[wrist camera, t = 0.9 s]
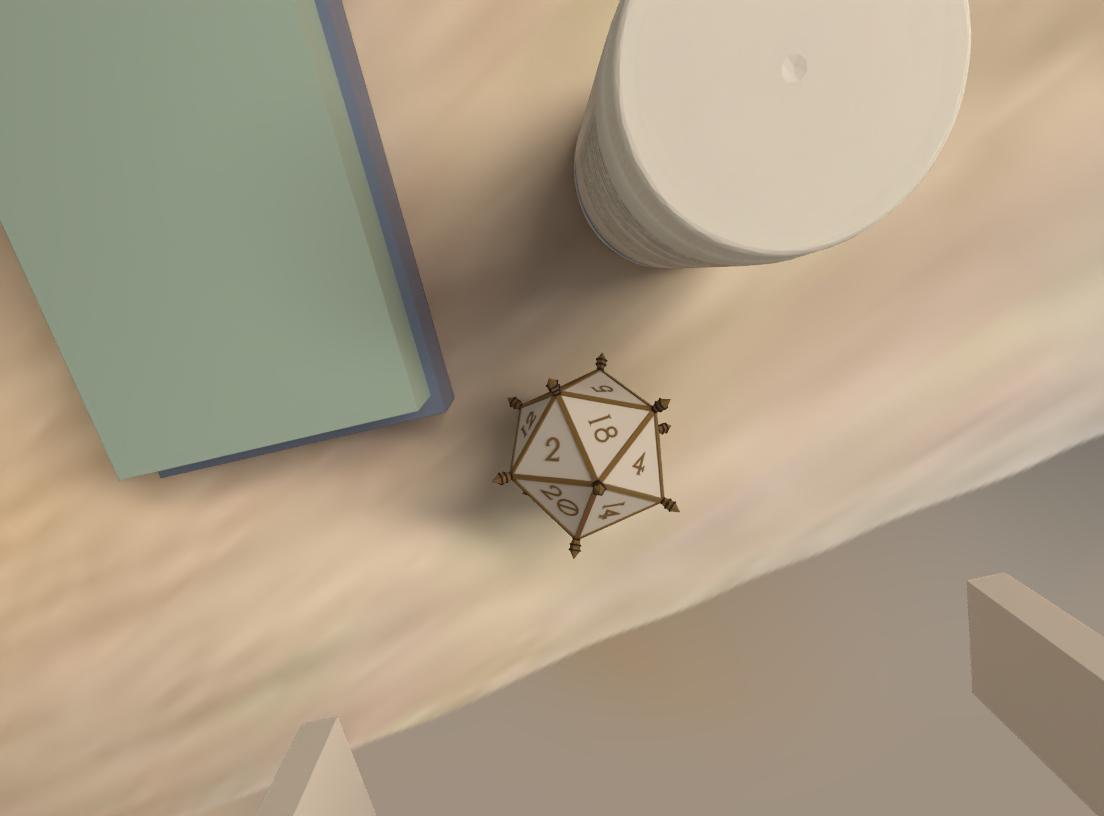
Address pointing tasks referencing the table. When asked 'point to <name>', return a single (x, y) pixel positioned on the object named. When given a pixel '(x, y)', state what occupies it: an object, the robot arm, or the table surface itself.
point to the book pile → (211, 226)
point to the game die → (589, 453)
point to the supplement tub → (764, 123)
